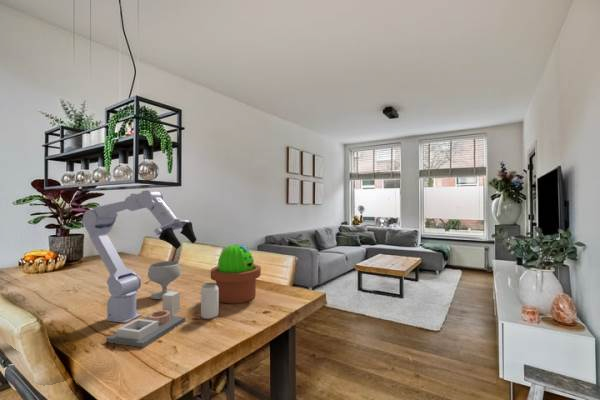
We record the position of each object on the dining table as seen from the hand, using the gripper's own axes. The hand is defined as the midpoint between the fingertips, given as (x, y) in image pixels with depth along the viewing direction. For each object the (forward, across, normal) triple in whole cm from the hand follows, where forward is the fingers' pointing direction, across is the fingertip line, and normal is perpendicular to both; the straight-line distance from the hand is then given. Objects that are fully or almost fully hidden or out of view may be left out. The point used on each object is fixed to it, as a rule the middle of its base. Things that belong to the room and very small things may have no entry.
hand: (187, 244), depth 104 cm
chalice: (0, +18, +47) cm, 50 cm away
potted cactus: (+23, +29, +24) cm, 44 cm away
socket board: (+14, -11, +26) cm, 32 cm away
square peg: (+12, +3, +31) cm, 33 cm away
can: (+23, +7, +20) cm, 31 cm away
